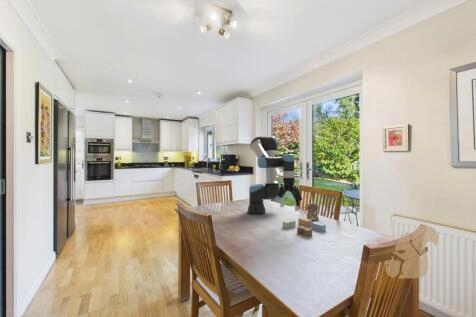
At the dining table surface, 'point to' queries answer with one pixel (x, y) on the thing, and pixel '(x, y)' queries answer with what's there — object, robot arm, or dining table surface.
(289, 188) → the robot arm
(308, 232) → the walnut brick
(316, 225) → the blue brick
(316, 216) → the mug
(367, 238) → the dining table surface
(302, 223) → the terracotta brick
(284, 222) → the sage brick
